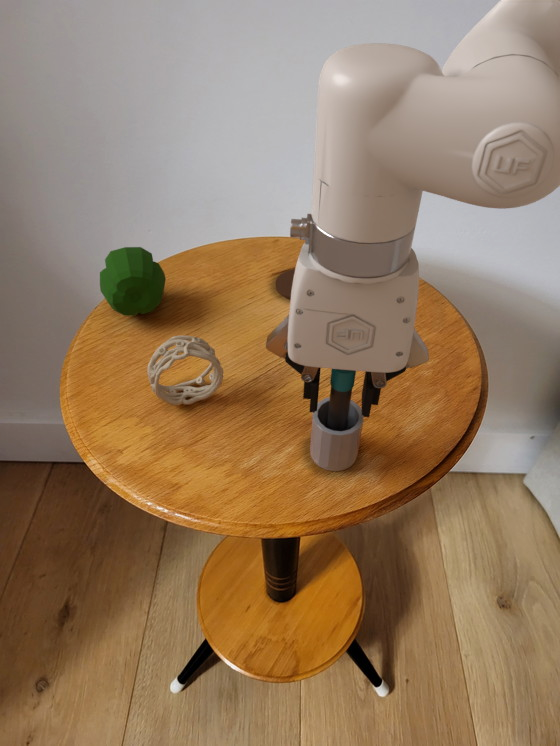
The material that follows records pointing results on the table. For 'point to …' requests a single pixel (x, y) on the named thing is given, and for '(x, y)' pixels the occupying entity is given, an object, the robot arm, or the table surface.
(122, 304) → the bell pepper
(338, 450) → the pot
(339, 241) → the robot arm
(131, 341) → the table surface
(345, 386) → the marker
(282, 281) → the coaster
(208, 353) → the bracelet
